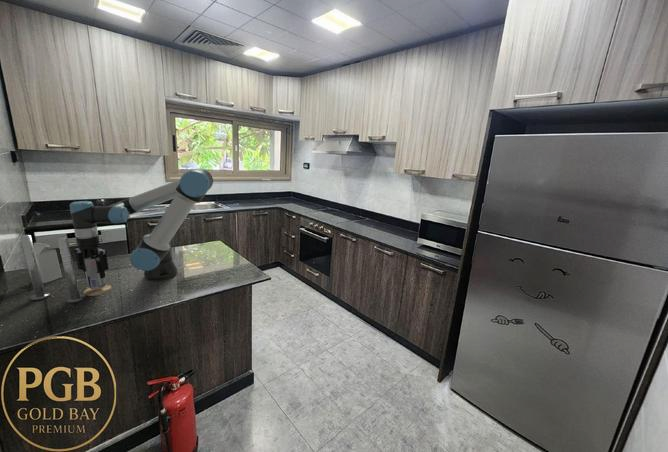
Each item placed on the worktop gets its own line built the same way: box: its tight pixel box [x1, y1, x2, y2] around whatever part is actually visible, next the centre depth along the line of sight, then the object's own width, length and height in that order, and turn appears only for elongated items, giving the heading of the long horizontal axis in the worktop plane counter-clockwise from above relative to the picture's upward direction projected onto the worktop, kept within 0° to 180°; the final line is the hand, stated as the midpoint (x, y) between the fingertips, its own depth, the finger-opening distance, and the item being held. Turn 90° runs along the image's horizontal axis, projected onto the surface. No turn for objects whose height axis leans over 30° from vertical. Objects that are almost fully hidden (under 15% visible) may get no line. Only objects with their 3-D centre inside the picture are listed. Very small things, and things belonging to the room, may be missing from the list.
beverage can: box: [84, 257, 107, 289], centre depth 124 cm, size 6×6×15 cm
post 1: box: [19, 234, 52, 302], centre depth 115 cm, size 6×6×28 cm
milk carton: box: [33, 242, 63, 284], centre depth 132 cm, size 7×7×19 cm
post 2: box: [57, 236, 86, 305], centre depth 114 cm, size 6×6×28 cm
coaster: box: [82, 284, 112, 297], centre depth 126 cm, size 10×10×1 cm
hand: (96, 283), depth 125 cm, fingers closed on beverage can, 5 cm apart
